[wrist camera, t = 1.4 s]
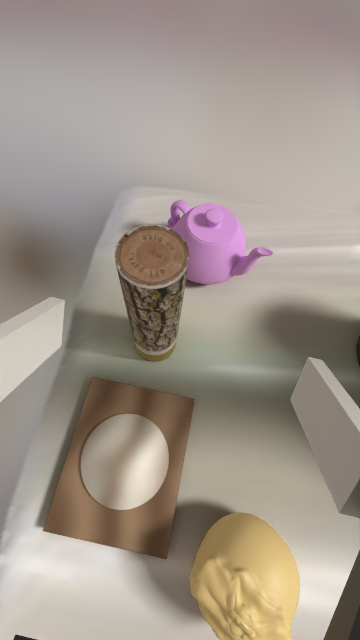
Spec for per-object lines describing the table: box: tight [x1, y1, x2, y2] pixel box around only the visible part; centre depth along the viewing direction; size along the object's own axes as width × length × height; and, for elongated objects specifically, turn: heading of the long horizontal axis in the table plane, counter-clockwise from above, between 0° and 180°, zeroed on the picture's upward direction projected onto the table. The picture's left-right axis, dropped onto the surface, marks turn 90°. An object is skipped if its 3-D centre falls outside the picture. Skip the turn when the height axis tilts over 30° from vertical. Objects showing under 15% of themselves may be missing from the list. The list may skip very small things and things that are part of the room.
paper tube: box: [115, 224, 189, 361], centre depth 38 cm, size 7×7×25 cm
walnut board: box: [43, 377, 195, 559], centre depth 42 cm, size 16×20×2 cm
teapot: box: [168, 200, 273, 284], centre depth 51 cm, size 20×14×12 cm
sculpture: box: [189, 513, 300, 640], centre depth 34 cm, size 12×12×11 cm
